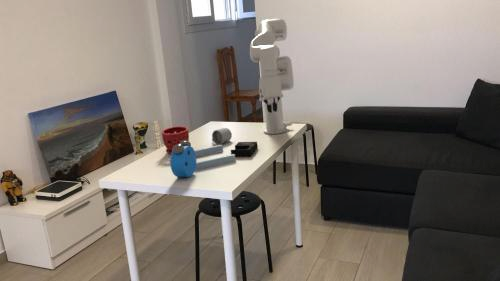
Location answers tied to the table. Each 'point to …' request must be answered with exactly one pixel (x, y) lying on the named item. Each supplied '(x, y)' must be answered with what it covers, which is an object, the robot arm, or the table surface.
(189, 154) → the alarm clock
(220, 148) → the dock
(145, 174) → the table surface
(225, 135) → the ceramic mug
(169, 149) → the plant pot
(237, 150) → the battery charger
